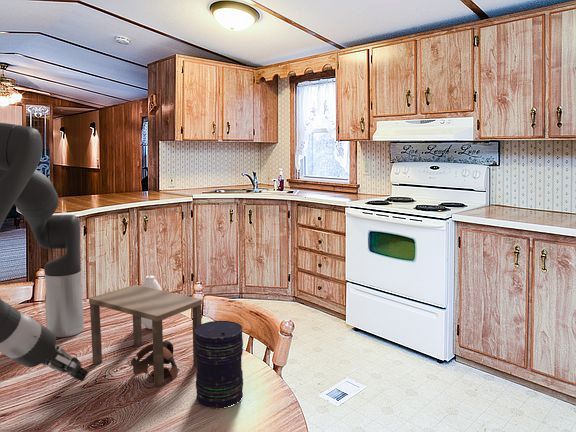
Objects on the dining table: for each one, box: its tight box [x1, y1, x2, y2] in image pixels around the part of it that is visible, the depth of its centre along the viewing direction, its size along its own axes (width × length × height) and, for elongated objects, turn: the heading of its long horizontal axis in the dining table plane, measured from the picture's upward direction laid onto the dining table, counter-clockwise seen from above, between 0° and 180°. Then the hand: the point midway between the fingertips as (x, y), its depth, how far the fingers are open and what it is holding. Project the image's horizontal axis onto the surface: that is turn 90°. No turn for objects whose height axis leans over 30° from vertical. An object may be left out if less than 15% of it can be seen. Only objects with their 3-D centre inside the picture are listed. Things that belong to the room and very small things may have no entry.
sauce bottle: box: [140, 267, 163, 330], centre depth 140 cm, size 8×8×18 cm
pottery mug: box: [130, 340, 179, 380], centre depth 113 cm, size 12×10×8 cm
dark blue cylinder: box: [195, 320, 244, 410], centre depth 102 cm, size 10×10×15 cm
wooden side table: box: [88, 284, 203, 388], centre depth 117 cm, size 23×14×16 cm, turn 58°
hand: (83, 375), depth 102 cm, fingers closed
